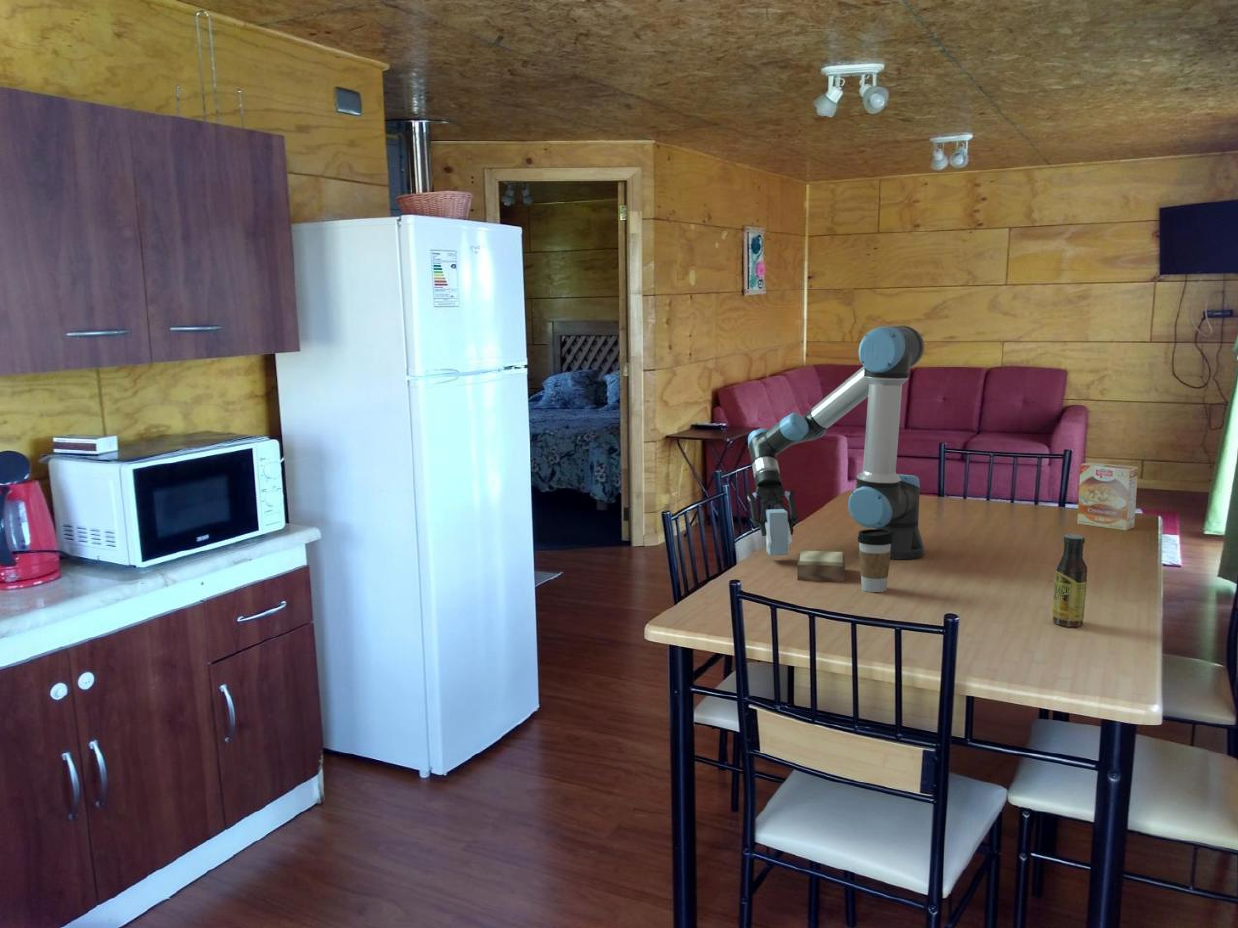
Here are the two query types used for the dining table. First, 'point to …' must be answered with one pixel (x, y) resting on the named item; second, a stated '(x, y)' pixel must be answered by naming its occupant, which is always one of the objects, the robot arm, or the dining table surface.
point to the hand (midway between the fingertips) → (779, 544)
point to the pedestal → (821, 566)
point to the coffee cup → (874, 558)
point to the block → (777, 531)
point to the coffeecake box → (1107, 495)
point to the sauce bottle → (1070, 584)
